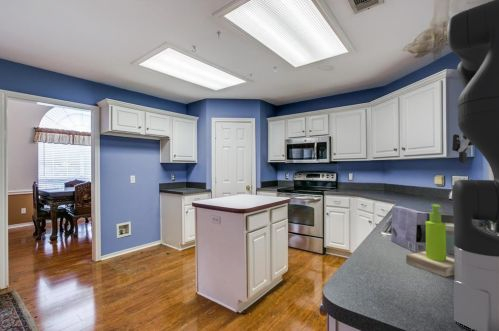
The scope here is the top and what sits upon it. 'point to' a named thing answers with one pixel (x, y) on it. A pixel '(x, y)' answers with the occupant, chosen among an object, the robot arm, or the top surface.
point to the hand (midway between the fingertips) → (479, 162)
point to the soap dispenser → (435, 236)
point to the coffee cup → (449, 238)
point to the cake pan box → (409, 228)
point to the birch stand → (431, 264)
